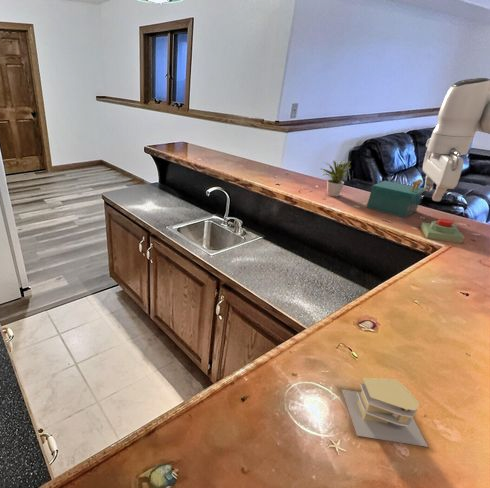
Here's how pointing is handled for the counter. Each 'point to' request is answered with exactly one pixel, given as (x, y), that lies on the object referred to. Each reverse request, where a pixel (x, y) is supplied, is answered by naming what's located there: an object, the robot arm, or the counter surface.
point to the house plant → (336, 178)
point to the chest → (393, 202)
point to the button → (444, 222)
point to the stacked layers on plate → (384, 411)
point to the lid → (401, 187)
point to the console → (441, 232)
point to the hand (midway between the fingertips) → (431, 195)
